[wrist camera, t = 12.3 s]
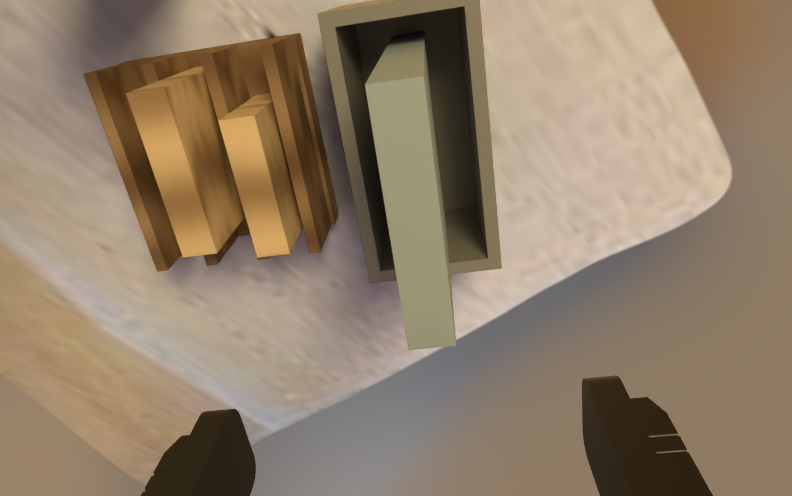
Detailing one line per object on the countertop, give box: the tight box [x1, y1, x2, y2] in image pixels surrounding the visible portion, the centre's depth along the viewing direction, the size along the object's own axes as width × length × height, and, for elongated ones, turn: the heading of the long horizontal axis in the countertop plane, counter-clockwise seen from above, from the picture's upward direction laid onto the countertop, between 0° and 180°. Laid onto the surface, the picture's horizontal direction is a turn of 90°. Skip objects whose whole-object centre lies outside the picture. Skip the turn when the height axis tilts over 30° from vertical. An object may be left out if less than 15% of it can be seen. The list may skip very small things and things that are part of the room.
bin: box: [318, 0, 502, 283], centre depth 38 cm, size 17×9×10 cm, turn 9°
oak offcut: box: [126, 66, 245, 257], centre depth 37 cm, size 10×2×10 cm, turn 9°
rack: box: [84, 33, 338, 272], centre depth 41 cm, size 14×13×7 cm
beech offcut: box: [218, 93, 303, 258], centre depth 38 cm, size 9×2×8 cm, turn 9°
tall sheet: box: [365, 31, 456, 350], centre depth 32 cm, size 12×2×20 cm, turn 8°
